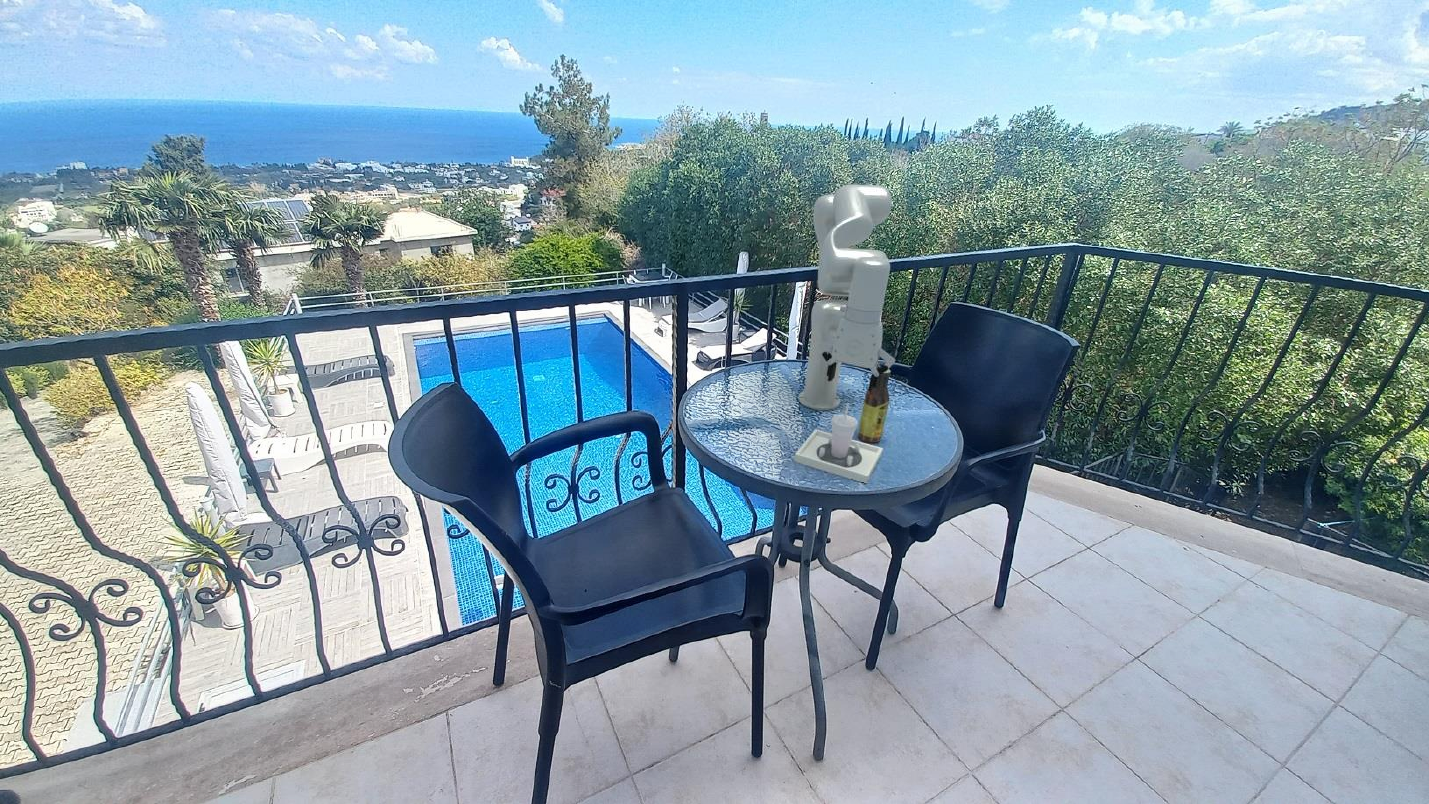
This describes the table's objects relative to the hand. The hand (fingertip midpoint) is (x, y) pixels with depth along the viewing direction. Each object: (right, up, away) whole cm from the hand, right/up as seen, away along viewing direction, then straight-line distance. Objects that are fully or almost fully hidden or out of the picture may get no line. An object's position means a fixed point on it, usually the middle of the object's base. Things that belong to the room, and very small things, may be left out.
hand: (850, 384), depth 127 cm
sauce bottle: (+10, -14, +19) cm, 25 cm away
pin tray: (-1, -18, +9) cm, 20 cm away
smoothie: (-1, -17, +8) cm, 19 cm away
